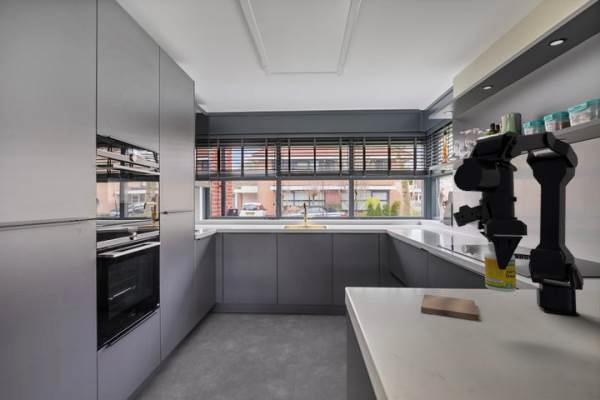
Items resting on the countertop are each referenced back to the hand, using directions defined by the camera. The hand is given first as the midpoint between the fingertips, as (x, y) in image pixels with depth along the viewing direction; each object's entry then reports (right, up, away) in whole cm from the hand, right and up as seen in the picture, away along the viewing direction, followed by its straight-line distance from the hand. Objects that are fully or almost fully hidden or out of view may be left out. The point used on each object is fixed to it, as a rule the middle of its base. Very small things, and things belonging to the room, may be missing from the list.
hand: (499, 266), depth 61 cm
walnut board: (-4, -13, +13) cm, 19 cm away
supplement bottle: (0, -5, 0) cm, 5 cm away
